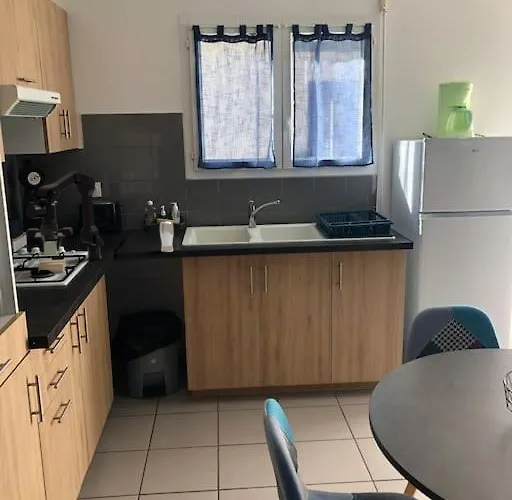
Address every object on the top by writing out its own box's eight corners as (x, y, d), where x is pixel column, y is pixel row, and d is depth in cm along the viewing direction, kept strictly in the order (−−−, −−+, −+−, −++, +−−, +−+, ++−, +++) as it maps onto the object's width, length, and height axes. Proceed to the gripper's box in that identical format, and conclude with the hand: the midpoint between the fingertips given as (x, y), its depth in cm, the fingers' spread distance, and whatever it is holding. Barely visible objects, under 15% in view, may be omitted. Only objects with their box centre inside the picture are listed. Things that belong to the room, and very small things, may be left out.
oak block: (42, 269, 258) (41, 260, 258) (65, 268, 260) (65, 259, 260) (38, 274, 249) (38, 265, 248) (63, 273, 251) (62, 264, 250)
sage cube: (46, 252, 255) (46, 241, 254) (58, 252, 256) (57, 241, 255) (44, 254, 250) (43, 243, 249) (56, 254, 251) (55, 243, 250)
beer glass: (164, 249, 304) (164, 221, 301) (176, 250, 302) (175, 221, 299) (158, 251, 298) (157, 222, 295) (169, 252, 295) (168, 223, 292)
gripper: (21, 219, 241) (24, 255, 244) (68, 217, 244) (70, 254, 246) (28, 215, 252) (30, 250, 255) (72, 214, 254) (74, 249, 257)
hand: (51, 251), depth 253 cm, fingers closed on sage cube, 5 cm apart
